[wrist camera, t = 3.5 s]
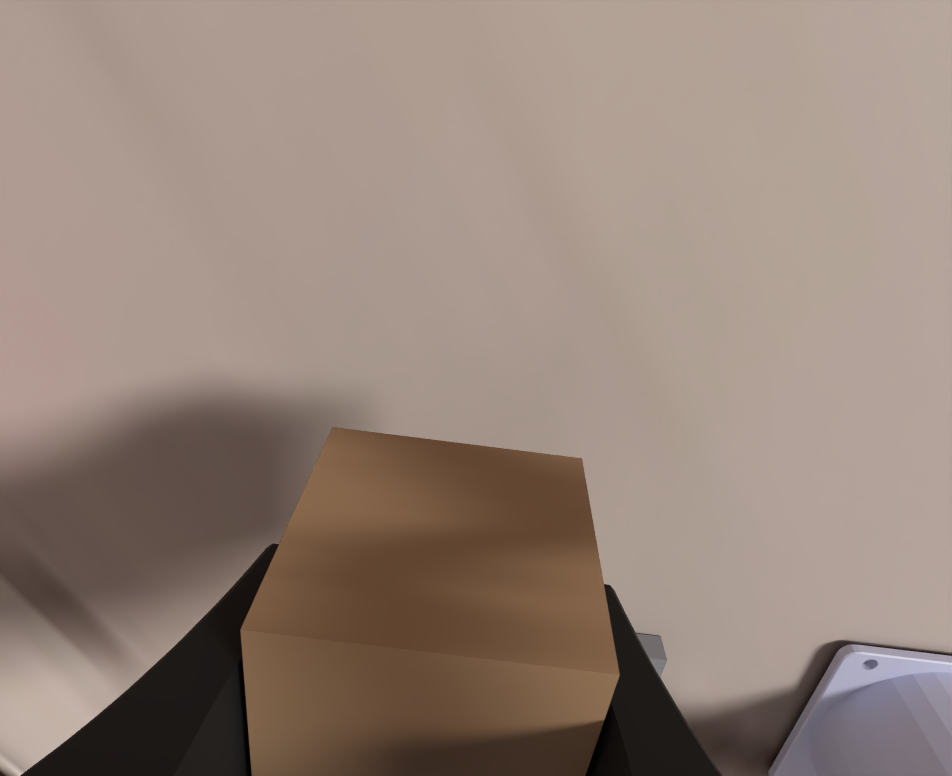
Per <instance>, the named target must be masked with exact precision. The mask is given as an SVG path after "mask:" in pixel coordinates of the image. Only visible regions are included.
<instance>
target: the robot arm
mask: <svg viewBox="0 0 952 776" xmlns="http://www.w3.org/2000/svg"><path fill="white" fill-rule="evenodd" d="M278 546H279V544H272V545H270V546H269V547H267V548H266V549H265V550H264V552H263V553H262V554H261V555H260V556H259V557H258V559H257V560H256V561H255V562H254V563H253V564H252V565H251V567H250V568H249V569H248V570H247V571H246V572H245V573H244V575H243V576H242V577H241V578H240V579H239V580H238V581H237V582H236V583H235V585H234V586H233V587H232V588H231V589H230V590H229V591H228V592H227V593H226V594H225V595H224V596H223V597H222V599H221V600H220V601H219V602H218V603H217V604H216V605H215V606H214V607H213V608H212V609H211V610H210V611H209V612H208V613H207V614H206V615H205V616H204V617H203V618H202V619H201V620H200V621H199V622H198V623H197V624H196V625H195V626H194V627H193V628H192V629H191V630H190V631H189V632H188V633H187V634H186V635H185V636H184V638H183V639H181V640H180V641H179V642H178V643H177V644H176V645H175V646H174V647H173V648H172V649H171V650H170V651H169V652H168V653H167V654H166V655H165V656H164V657H163V658H161V659H160V660H159V661H158V662H157V663H156V664H155V665H154V666H153V667H152V668H151V669H150V670H148V671H147V672H146V673H145V674H144V675H143V676H142V677H141V678H140V679H139V680H138V681H137V682H135V683H134V684H133V685H132V686H131V687H130V688H129V689H128V690H127V691H125V692H124V693H123V694H122V695H121V696H120V697H119V698H117V699H116V700H115V701H114V702H113V703H112V704H110V705H109V706H108V707H107V708H106V709H105V710H103V711H102V712H101V713H100V714H99V715H97V716H96V717H95V718H94V719H93V720H91V721H90V722H89V723H88V724H86V725H85V726H84V727H83V728H81V729H80V730H79V731H78V732H76V733H75V734H74V735H73V736H72V737H70V738H69V739H68V740H67V741H65V742H64V743H63V744H61V745H60V746H59V747H58V748H56V749H55V750H54V751H52V752H51V753H50V754H48V755H47V756H46V757H44V758H43V759H42V760H40V761H39V762H38V763H36V764H35V765H34V766H32V767H31V768H30V769H28V770H27V771H26V772H24V773H23V774H22V775H20V776H252V772H251V759H250V746H249V733H248V720H247V708H246V695H245V682H244V669H243V656H242V643H241V627H242V625H243V623H244V621H245V619H246V616H247V614H248V612H249V610H250V608H251V605H252V603H253V601H254V599H255V597H256V594H257V592H258V590H259V588H260V585H261V583H262V581H263V579H264V577H265V574H266V572H267V570H268V568H269V566H270V563H271V561H272V559H273V557H274V555H275V552H276V550H277V548H278ZM604 588H605V594H606V599H607V605H608V611H609V617H610V622H611V628H612V634H613V639H614V645H615V651H616V657H617V662H618V668H619V674H620V676H619V679H618V681H617V684H616V687H615V690H614V693H613V696H612V699H611V702H610V705H609V708H608V711H607V714H606V717H605V720H604V723H603V725H602V728H601V731H600V734H599V737H598V740H597V743H596V746H595V749H594V752H593V755H592V758H591V761H590V764H589V767H588V769H587V772H586V775H585V776H722V775H721V773H720V772H719V770H718V769H717V768H716V766H715V765H714V763H713V762H712V760H711V759H710V757H709V756H708V754H707V753H706V751H705V750H704V748H703V747H702V745H701V744H700V742H699V740H698V739H697V737H696V736H695V734H694V733H693V731H692V730H691V728H690V727H689V725H688V723H687V722H686V720H685V719H684V717H683V715H682V714H681V712H680V711H679V709H678V707H677V706H676V704H675V702H674V700H673V699H672V697H671V695H670V694H669V692H668V690H667V689H666V687H665V685H664V684H663V682H662V680H661V678H660V677H659V675H658V673H657V672H656V670H655V668H654V666H653V664H652V663H651V661H650V659H649V657H648V655H647V654H646V652H645V650H644V648H643V646H642V644H641V642H640V641H639V639H638V637H637V635H636V633H635V631H634V629H633V627H632V625H631V623H630V621H629V619H628V617H627V615H626V613H625V611H624V609H623V607H622V605H621V603H620V601H619V599H618V597H617V595H616V593H615V591H614V590H613V588H612V587H611V586H610V585H606V584H604ZM768 775H769V776H952V656H948V655H940V654H931V653H923V652H915V651H906V650H898V649H890V648H881V647H873V646H865V645H856V644H850V645H846V646H844V647H842V648H840V649H839V651H838V652H837V653H836V655H835V657H834V658H833V660H832V662H831V664H830V665H829V667H828V669H827V671H826V672H825V674H824V676H823V677H822V679H821V681H820V683H819V684H818V686H817V688H816V690H815V691H814V693H813V695H812V697H811V698H810V700H809V702H808V704H807V705H806V707H805V709H804V711H803V712H802V714H801V716H800V718H799V719H798V721H797V723H796V724H795V726H794V728H793V730H792V731H791V733H790V735H789V737H788V738H787V740H786V742H785V744H784V745H783V747H782V749H781V751H780V752H779V754H778V756H777V758H776V759H775V761H774V763H773V765H772V766H771V768H770V770H769V772H768Z"/></svg>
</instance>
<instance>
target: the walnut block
mask: <svg viewBox="0 0 952 776" xmlns="http://www.w3.org/2000/svg"><path fill="white" fill-rule="evenodd" d="M241 643H242V656H243V669H244V682H245V695H246V708H247V720H248V733H249V746H250V759H251V772H252V776H585V775H586V772H587V769H588V767H589V764H590V761H591V758H592V755H593V752H594V749H595V746H596V743H597V740H598V737H599V734H600V731H601V728H602V725H603V723H604V720H605V717H606V714H607V711H608V708H609V705H610V702H611V699H612V696H613V693H614V690H615V687H616V684H617V681H618V679H619V676H620V674H619V668H618V662H617V657H616V651H615V645H614V639H613V634H612V628H611V622H610V617H609V611H608V605H607V599H606V594H605V588H604V582H603V577H602V571H601V565H600V559H599V554H598V548H597V542H596V537H595V531H594V525H593V519H592V514H591V508H590V502H589V497H588V491H587V485H586V479H585V474H584V468H583V462H582V458H574V457H566V456H558V455H550V454H542V453H534V452H526V451H518V450H510V449H503V448H495V447H487V446H479V445H471V444H463V443H455V442H447V441H439V440H431V439H423V438H415V437H407V436H399V435H391V434H383V433H375V432H367V431H359V430H351V429H343V428H335V427H332V429H331V431H330V433H329V436H328V438H327V440H326V442H325V444H324V447H323V449H322V451H321V453H320V455H319V458H318V460H317V462H316V464H315V466H314V469H313V471H312V473H311V475H310V478H309V480H308V482H307V484H306V486H305V489H304V491H303V493H302V495H301V497H300V500H299V502H298V504H297V506H296V508H295V511H294V513H293V515H292V517H291V519H290V522H289V524H288V526H287V528H286V530H285V533H284V535H283V537H282V539H281V541H280V544H279V546H278V548H277V550H276V552H275V555H274V557H273V559H272V561H271V563H270V566H269V568H268V570H267V572H266V574H265V577H264V579H263V581H262V583H261V585H260V588H259V590H258V592H257V594H256V597H255V599H254V601H253V603H252V605H251V608H250V610H249V612H248V614H247V616H246V619H245V621H244V623H243V625H242V627H241Z"/></svg>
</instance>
